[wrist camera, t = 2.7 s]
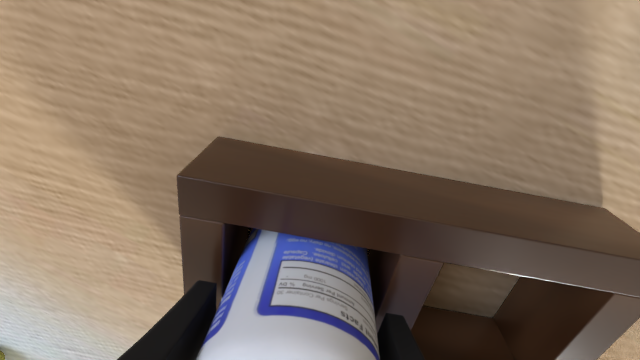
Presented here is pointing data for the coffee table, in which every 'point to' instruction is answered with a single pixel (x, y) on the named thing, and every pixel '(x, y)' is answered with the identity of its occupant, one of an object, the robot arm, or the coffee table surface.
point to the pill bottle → (295, 303)
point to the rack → (423, 247)
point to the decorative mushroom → (2, 356)
